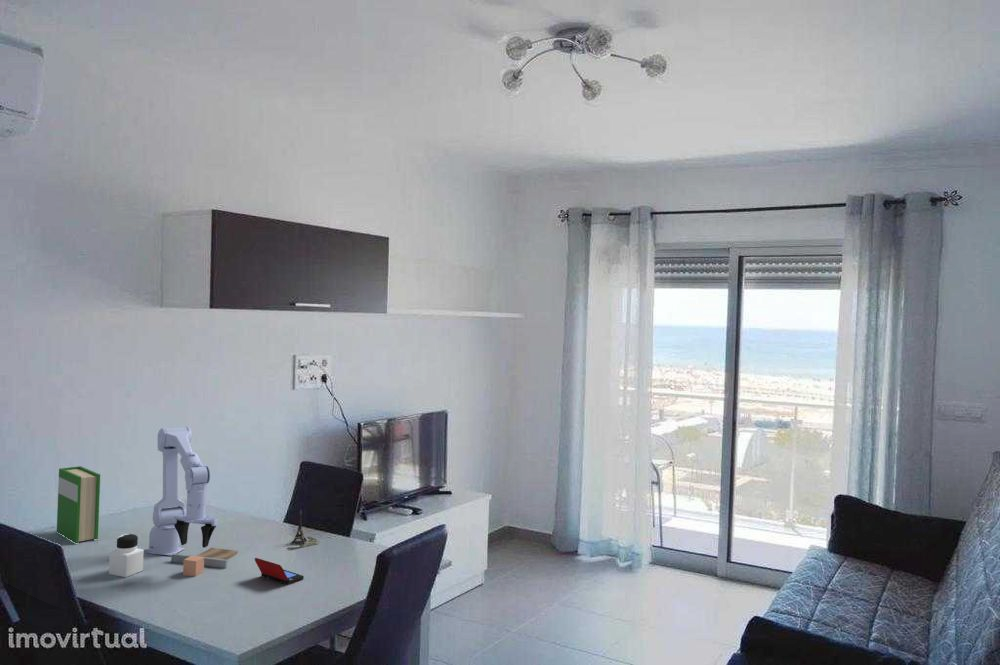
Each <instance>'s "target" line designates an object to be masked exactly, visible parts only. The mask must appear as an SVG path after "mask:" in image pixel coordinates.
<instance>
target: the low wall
mask: <svg viewBox="0 0 1000 665" xmlns="http://www.w3.org/2000/svg"><path fill="white" fill-rule="evenodd" d="M190 556H192V555H191V554H181V553H176V554H174V553H173V554H172V556H171V560H170V561H171V563H173V562H174V563H178V564H179V563H180V564H183V562H184V559H186V558H188V557H190ZM228 560H229V559H227V560H225V559H217V558H208V557H204V567H205V566H207V567H212V568H213V567H214V568H222V569H227V568H228Z"/></svg>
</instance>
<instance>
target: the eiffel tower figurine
mask: <svg viewBox="0 0 1000 665" xmlns="http://www.w3.org/2000/svg"><path fill="white" fill-rule="evenodd" d="M307 539H308V540H307ZM319 543H320V541H319V540H317V538H314V537H312V536H310V535H309V536H305V534H304V533H303V527H302V510H300V511H299V520H298V528H297V531H296V534H295V535H294V538H293V540H292V541H291V543H290V545H289V546H288V547H286V550H289V551H292V550H298V549H302V548H306V547H309V546H315V545H318V544H319ZM293 546H295V547H293ZM297 546H298V547H297Z"/></svg>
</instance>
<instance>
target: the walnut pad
mask: <svg viewBox="0 0 1000 665" xmlns="http://www.w3.org/2000/svg"><path fill="white" fill-rule="evenodd" d="M237 554H238V550H235V549H227V548H225V549H224V548H217V547H211V548H209V549H207V550H205V551H203V552H201V553H200V554H198V555H196V556H200V557H208V558H217V559H225V560H229V559H231V558H232V557H234V556H236V555H237Z"/></svg>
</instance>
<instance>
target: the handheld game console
mask: <svg viewBox="0 0 1000 665" xmlns="http://www.w3.org/2000/svg"><path fill="white" fill-rule="evenodd" d="M254 562H255V563H256V565H257V567H258V569H259V571H260V576H261V577H262V578H265V579H268V580H270V581H276V582H277V583H280V584H283V585H285V586H289V585H291V584H294V583H297V582H300V581H302V580H304V576H305V575H302V574H299V573H296V572H294V571H289V570H286V569H284V568H283V566H282V565H280V564H277V563H274V562H271V561H268V560H264V559H261V558H258V557H255V558H254Z"/></svg>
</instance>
